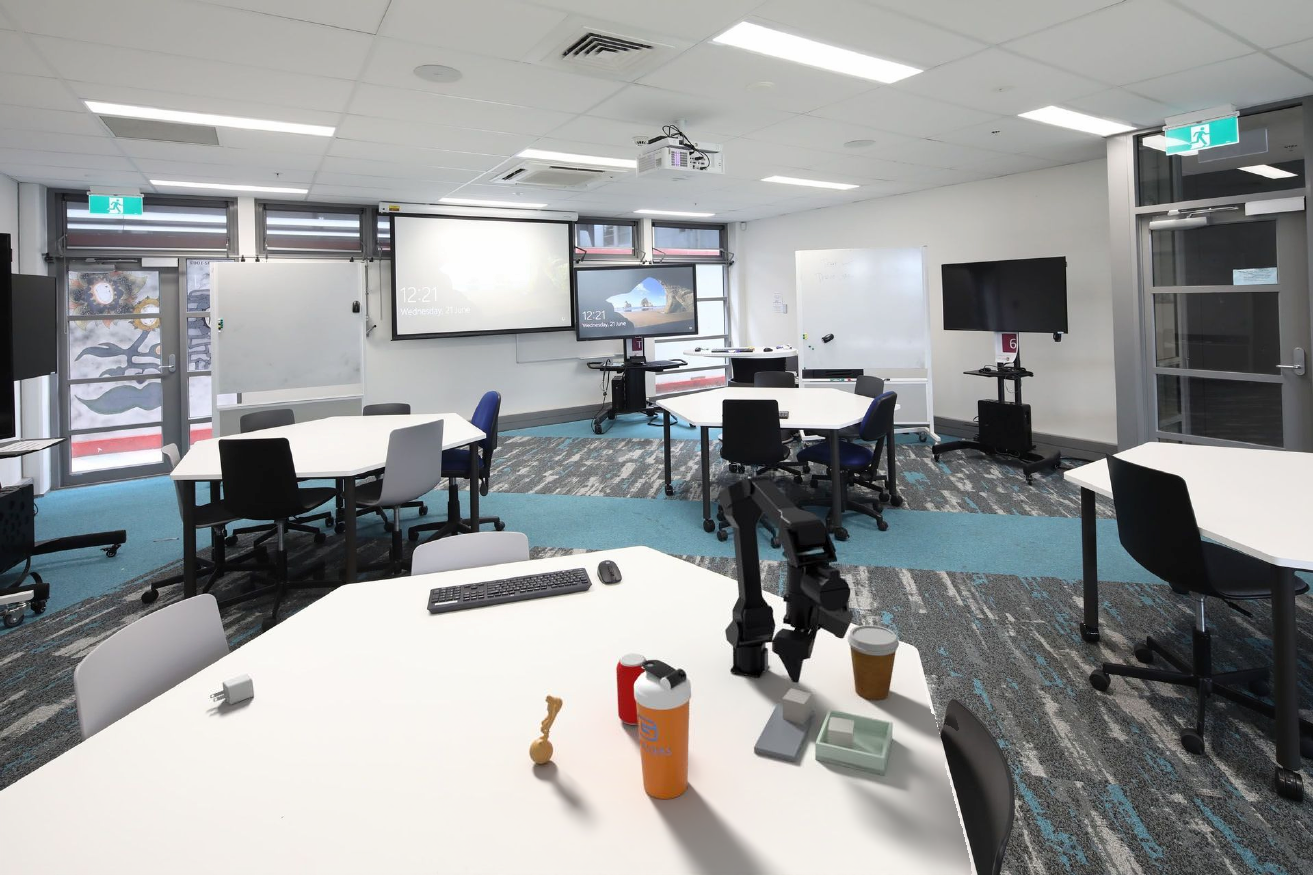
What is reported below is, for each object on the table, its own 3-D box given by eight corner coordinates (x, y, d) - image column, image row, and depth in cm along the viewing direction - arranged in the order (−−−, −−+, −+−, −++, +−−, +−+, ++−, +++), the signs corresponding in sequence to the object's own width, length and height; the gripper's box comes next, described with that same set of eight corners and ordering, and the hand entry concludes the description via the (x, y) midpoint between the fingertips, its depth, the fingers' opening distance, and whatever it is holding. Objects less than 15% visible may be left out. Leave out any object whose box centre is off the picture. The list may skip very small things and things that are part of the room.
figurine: (532, 747, 123) (528, 684, 121) (566, 745, 124) (563, 681, 122) (527, 778, 115) (523, 710, 113) (564, 774, 116) (560, 707, 114)
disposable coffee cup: (900, 706, 133) (902, 647, 131) (848, 702, 134) (849, 644, 132) (894, 681, 142) (895, 625, 140) (845, 678, 144) (846, 622, 142)
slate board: (754, 752, 120) (753, 746, 120) (777, 707, 133) (777, 702, 133) (794, 761, 117) (794, 756, 117) (814, 715, 130) (814, 710, 130)
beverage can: (655, 712, 133) (653, 653, 131) (644, 730, 127) (642, 669, 125) (625, 707, 135) (623, 649, 133) (613, 725, 129) (610, 664, 127)
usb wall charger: (254, 697, 144) (252, 678, 143) (216, 711, 139) (213, 692, 138) (248, 690, 146) (245, 672, 146) (210, 704, 141) (207, 685, 141)
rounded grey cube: (827, 751, 118) (827, 729, 118) (830, 737, 122) (830, 716, 121) (852, 755, 117) (852, 733, 116) (854, 741, 121) (854, 720, 120)
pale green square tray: (815, 759, 118) (815, 742, 117) (828, 724, 127) (828, 709, 127) (883, 775, 113) (884, 758, 113) (892, 738, 123) (892, 722, 122)
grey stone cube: (782, 718, 128) (782, 698, 127) (791, 707, 131) (791, 688, 131) (803, 724, 126) (803, 703, 125) (811, 713, 129) (811, 693, 129)
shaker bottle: (658, 760, 119) (654, 649, 115) (703, 778, 114) (701, 663, 110) (626, 790, 111) (621, 673, 108) (673, 811, 106) (670, 688, 103)
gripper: (839, 617, 112) (837, 706, 115) (858, 575, 128) (856, 654, 131) (771, 606, 116) (770, 692, 119) (798, 567, 133) (796, 643, 136)
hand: (801, 669), depth 126 cm, fingers open, 9 cm apart
